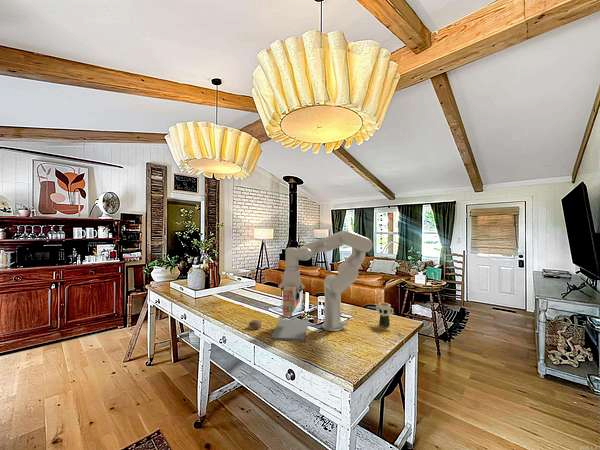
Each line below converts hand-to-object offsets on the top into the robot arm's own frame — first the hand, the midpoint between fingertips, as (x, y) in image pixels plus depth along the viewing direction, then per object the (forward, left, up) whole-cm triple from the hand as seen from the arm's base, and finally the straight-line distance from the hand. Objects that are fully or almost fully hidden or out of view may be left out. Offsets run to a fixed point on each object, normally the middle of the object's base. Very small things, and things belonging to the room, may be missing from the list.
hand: (291, 299), depth 154 cm
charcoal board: (0, 0, -18) cm, 18 cm away
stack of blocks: (0, -1, -5) cm, 5 cm away
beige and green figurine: (-56, -15, -18) cm, 61 cm away
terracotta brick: (+6, -23, -18) cm, 30 cm away
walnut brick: (+22, -1, -18) cm, 29 cm away
